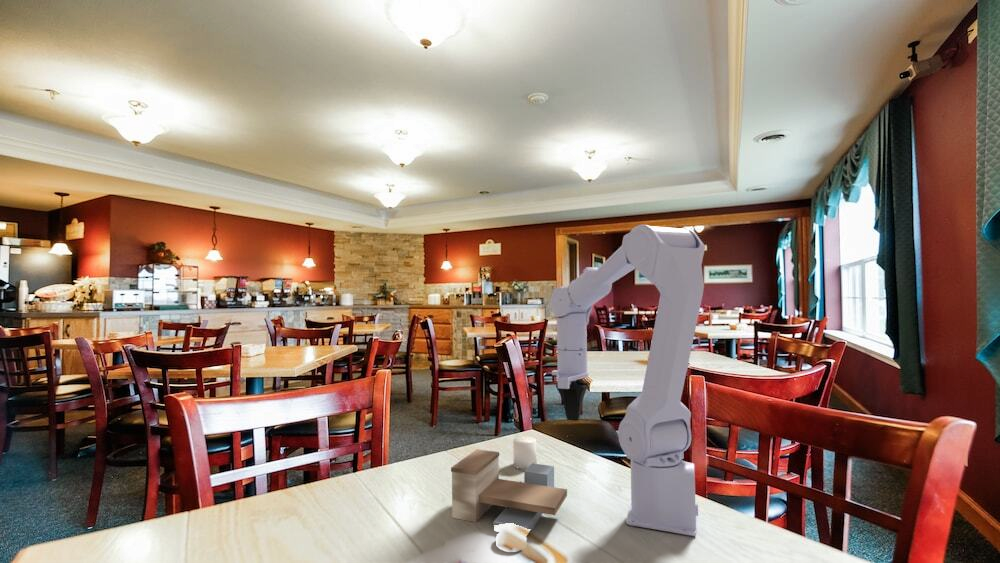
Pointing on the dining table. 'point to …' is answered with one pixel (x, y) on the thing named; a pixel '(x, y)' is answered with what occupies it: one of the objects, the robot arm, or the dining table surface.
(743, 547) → the dining table surface
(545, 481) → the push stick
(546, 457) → the dining table surface
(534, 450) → the white rounded cylinder
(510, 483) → the plinth shelf
